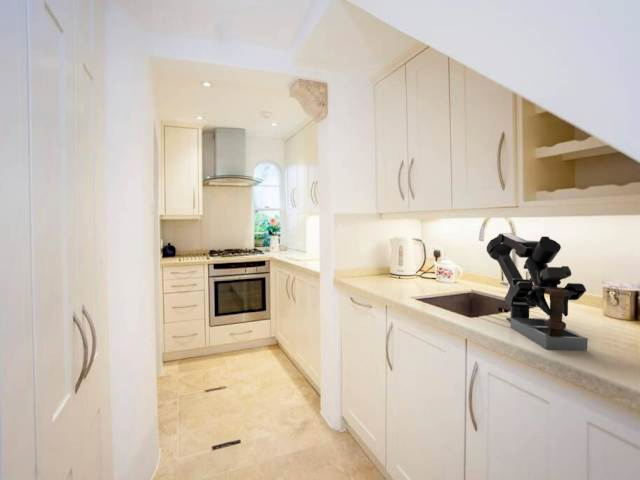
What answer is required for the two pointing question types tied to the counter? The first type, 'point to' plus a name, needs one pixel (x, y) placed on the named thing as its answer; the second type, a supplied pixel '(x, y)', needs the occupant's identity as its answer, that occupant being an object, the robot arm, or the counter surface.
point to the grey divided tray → (540, 335)
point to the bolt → (556, 311)
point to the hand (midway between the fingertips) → (558, 315)
